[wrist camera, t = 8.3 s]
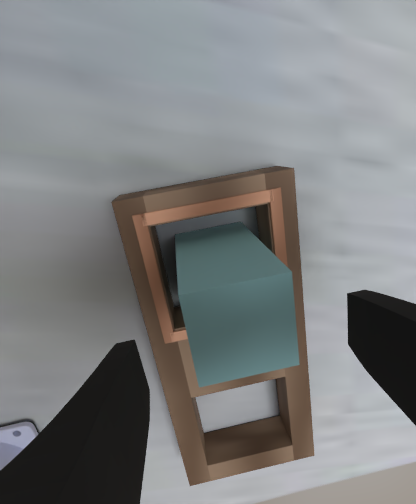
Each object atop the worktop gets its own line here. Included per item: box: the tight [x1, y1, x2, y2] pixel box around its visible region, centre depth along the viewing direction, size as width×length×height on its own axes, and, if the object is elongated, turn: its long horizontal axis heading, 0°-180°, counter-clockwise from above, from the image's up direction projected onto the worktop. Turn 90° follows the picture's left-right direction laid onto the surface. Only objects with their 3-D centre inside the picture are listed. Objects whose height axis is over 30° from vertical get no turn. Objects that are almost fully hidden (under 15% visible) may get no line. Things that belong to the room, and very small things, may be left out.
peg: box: [175, 222, 300, 388], centre depth 15 cm, size 4×4×8 cm
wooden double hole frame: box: [112, 166, 314, 486], centre depth 19 cm, size 9×20×3 cm, turn 10°
